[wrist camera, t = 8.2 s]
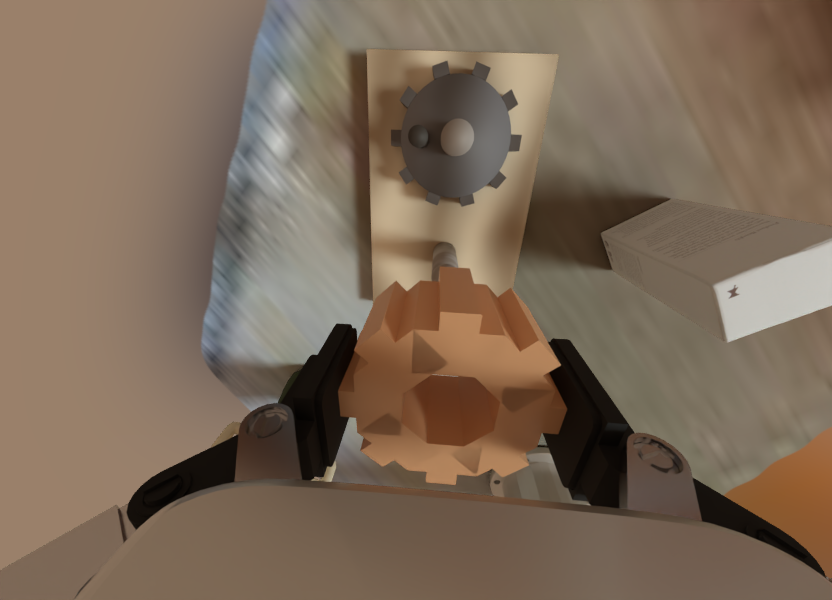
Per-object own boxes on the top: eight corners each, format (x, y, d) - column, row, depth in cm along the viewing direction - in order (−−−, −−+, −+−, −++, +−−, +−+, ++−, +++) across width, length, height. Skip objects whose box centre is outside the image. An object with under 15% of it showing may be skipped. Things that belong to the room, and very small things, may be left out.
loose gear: (554, 273, 11) (602, 322, 8) (516, 416, 14) (539, 492, 11) (357, 261, 11) (326, 304, 8) (364, 404, 14) (344, 475, 11)
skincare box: (611, 272, 28) (722, 346, 17) (598, 232, 26) (709, 284, 15) (684, 240, 26) (860, 299, 15) (674, 195, 24) (860, 225, 14)
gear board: (551, 61, 21) (614, 6, 14) (504, 309, 30) (526, 361, 22) (371, 55, 22) (334, 0, 14) (376, 300, 31) (354, 348, 23)
